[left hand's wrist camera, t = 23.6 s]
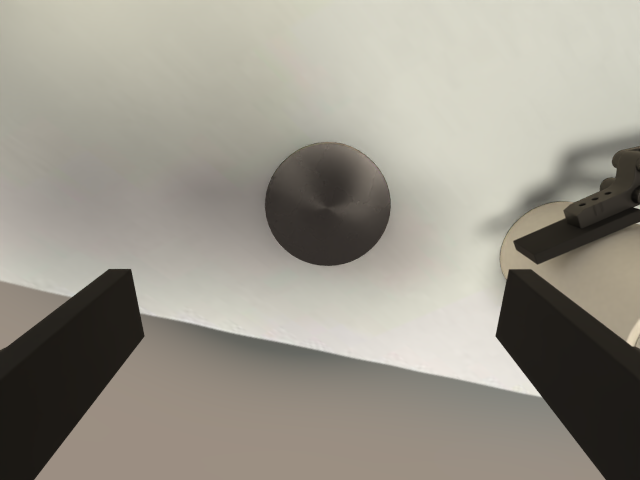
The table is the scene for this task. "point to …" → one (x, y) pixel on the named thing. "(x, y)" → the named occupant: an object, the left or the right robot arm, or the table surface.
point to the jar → (587, 271)
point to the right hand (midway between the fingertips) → (545, 311)
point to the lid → (327, 204)
